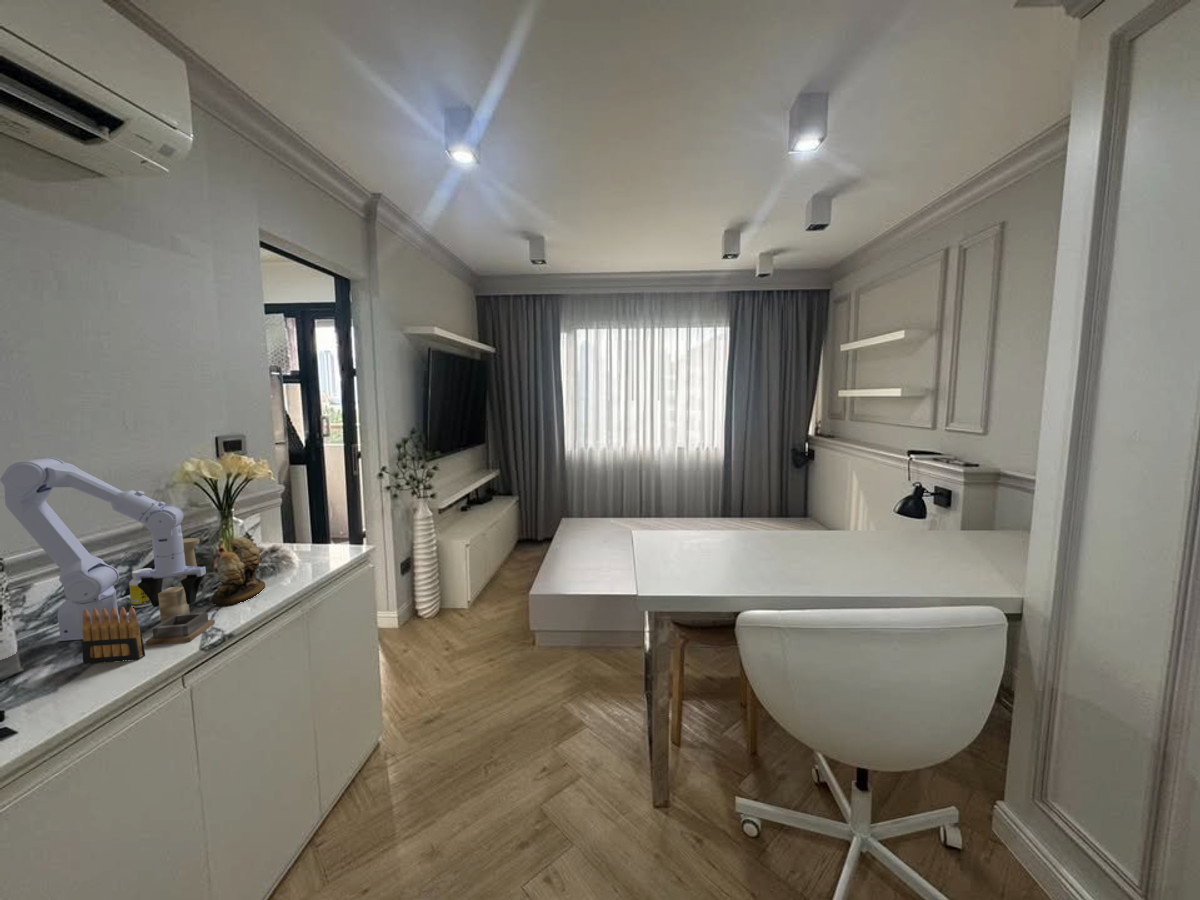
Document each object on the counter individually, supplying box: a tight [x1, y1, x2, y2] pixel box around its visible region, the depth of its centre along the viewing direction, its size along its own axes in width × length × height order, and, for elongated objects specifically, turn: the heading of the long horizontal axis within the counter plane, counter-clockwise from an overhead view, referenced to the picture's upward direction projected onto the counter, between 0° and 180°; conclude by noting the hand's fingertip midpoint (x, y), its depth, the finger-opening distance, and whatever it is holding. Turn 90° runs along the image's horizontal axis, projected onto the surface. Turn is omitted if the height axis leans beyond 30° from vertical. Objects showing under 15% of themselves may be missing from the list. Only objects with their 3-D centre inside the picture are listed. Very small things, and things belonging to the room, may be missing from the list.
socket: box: [145, 611, 216, 646], centre depth 111 cm, size 9×9×4 cm
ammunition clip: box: [81, 605, 146, 665], centre depth 100 cm, size 11×2×12 cm, turn 98°
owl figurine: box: [210, 537, 266, 607], centre depth 134 cm, size 18×12×17 cm, turn 22°
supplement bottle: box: [128, 567, 153, 609], centre depth 128 cm, size 5×5×10 cm
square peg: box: [158, 586, 191, 623], centre depth 119 cm, size 4×4×8 cm
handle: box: [180, 537, 200, 581], centre depth 138 cm, size 5×6×15 cm
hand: (174, 604), depth 119 cm, fingers open, 7 cm apart
